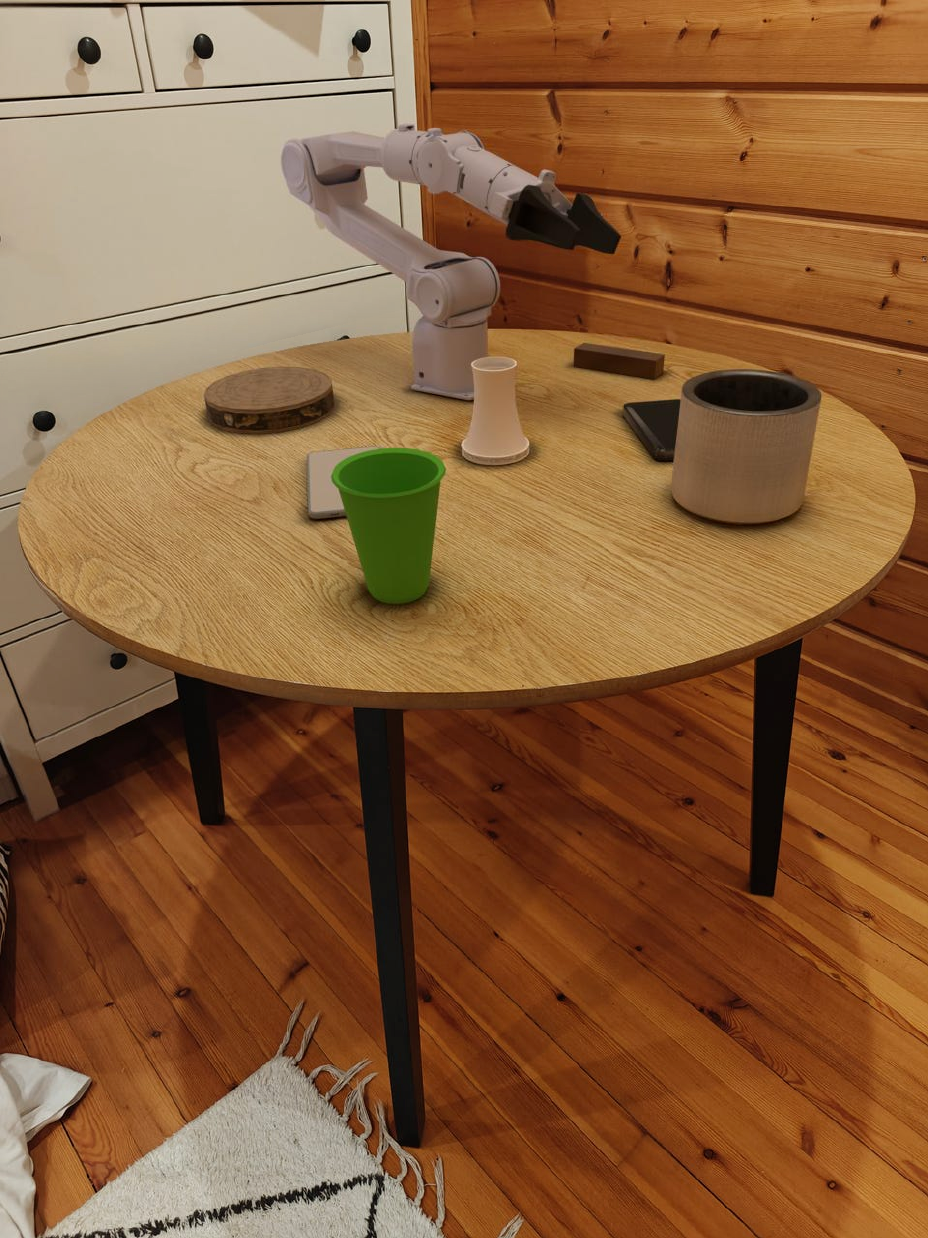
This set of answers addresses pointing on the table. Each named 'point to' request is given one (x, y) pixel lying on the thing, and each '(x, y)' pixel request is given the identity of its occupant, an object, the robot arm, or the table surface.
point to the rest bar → (619, 360)
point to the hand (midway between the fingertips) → (596, 242)
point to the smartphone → (326, 481)
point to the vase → (494, 415)
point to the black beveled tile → (655, 425)
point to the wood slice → (269, 399)
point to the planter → (744, 445)
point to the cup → (392, 517)
